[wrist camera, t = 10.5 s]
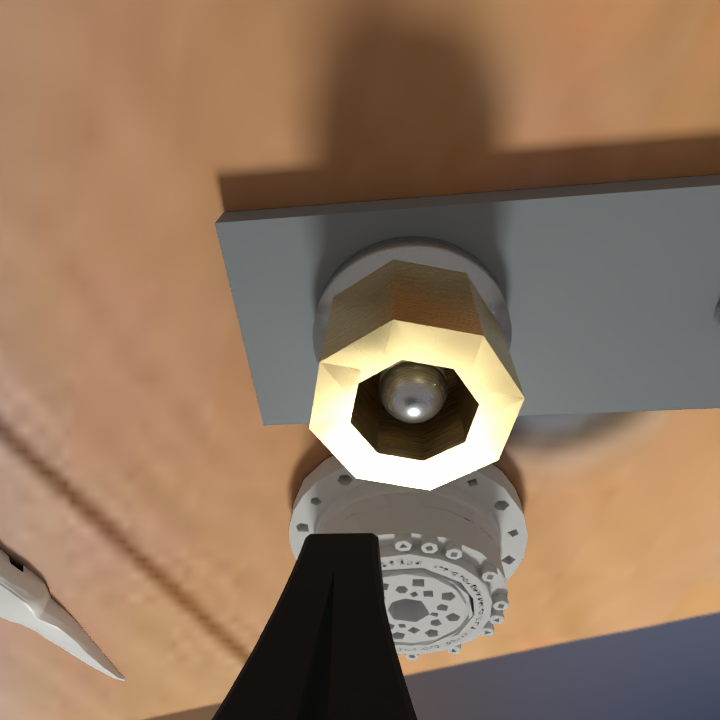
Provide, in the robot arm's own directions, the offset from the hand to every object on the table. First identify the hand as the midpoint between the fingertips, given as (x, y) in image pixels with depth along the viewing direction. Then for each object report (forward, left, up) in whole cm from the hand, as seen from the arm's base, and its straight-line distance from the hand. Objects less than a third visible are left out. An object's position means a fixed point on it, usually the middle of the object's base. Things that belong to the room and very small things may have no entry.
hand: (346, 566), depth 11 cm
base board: (-6, -1, -9) cm, 11 cm away
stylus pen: (+18, +16, -10) cm, 26 cm away
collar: (-1, -1, -7) cm, 7 cm away
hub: (-1, -1, -8) cm, 8 cm away
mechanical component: (-1, +10, -10) cm, 14 cm away
